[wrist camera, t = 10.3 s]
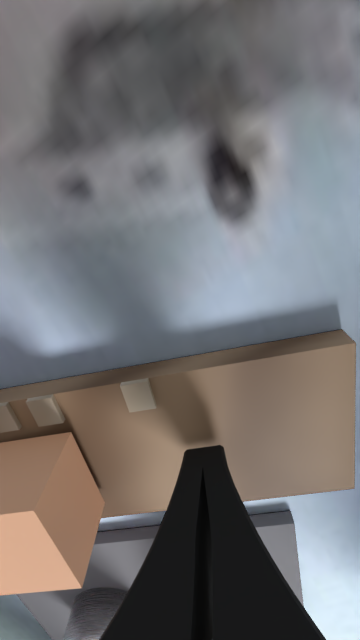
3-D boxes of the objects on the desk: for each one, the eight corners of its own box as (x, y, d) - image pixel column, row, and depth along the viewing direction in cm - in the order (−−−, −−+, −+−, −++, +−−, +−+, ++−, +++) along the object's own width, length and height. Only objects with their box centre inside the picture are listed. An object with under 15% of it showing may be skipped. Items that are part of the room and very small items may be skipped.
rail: (342, 329, 11) (358, 346, 10) (343, 468, 14) (356, 493, 13) (-120, 410, 13) (-148, 431, 12) (-39, 515, 16) (-56, 540, 15)
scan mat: (290, 510, 15) (294, 523, 14) (302, 616, 19) (306, 629, 18) (-8, 543, 17) (-15, 556, 16) (60, 633, 21) (57, 645, 20)
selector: (70, 431, 11) (33, 510, 9) (104, 502, 13) (82, 588, 10) (-26, 446, 12) (-90, 525, 9) (18, 513, 14) (-26, 597, 11)
